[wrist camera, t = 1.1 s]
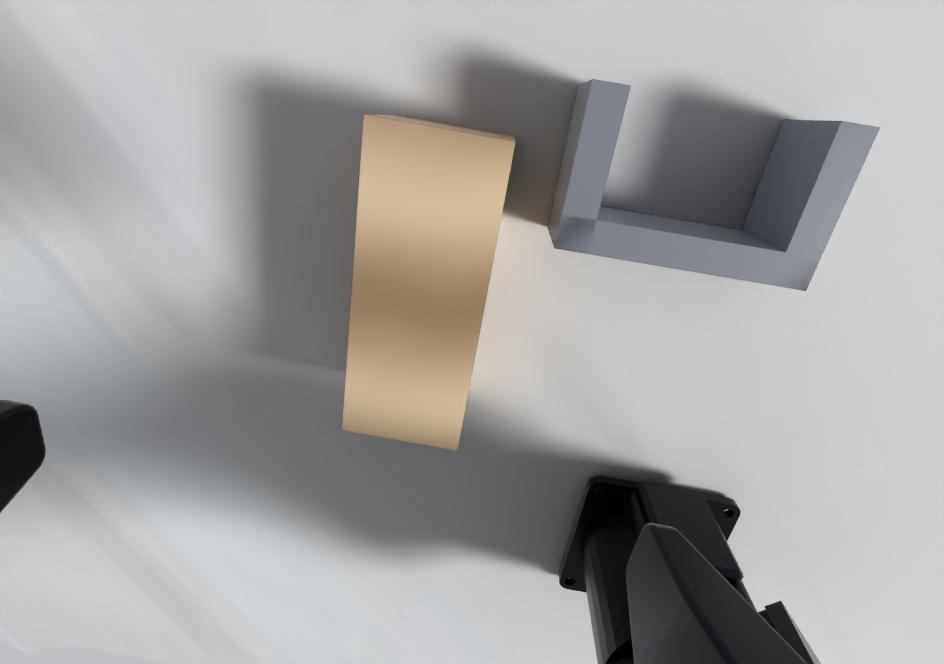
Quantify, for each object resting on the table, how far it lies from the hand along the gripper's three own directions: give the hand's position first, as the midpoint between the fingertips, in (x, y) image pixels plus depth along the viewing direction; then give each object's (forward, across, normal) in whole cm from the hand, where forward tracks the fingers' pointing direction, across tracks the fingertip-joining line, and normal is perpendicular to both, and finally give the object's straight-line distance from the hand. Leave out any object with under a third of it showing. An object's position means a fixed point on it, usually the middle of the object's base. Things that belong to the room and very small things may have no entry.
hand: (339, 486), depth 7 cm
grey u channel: (+12, -7, -4) cm, 15 cm away
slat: (+12, 0, 0) cm, 12 cm away
